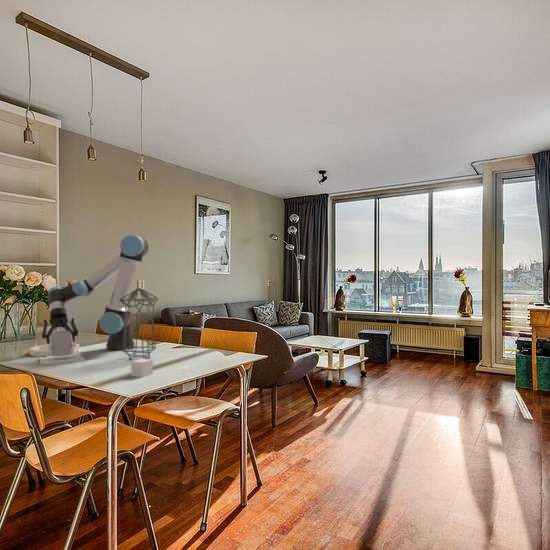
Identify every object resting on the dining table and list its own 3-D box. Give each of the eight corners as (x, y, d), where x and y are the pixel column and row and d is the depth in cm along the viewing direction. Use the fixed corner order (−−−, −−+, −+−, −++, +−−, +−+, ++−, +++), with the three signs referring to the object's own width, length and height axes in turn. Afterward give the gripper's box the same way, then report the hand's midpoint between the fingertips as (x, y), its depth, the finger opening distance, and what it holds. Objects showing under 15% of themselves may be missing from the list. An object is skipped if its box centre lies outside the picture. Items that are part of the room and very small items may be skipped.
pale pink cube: (131, 376, 166) (131, 361, 166) (141, 373, 172) (141, 358, 172) (142, 377, 164) (142, 362, 164) (152, 374, 169) (152, 359, 169)
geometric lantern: (117, 361, 195) (117, 288, 195) (131, 355, 210) (130, 287, 211) (149, 361, 194) (149, 288, 194) (161, 355, 209) (160, 287, 209)
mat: (78, 355, 212) (78, 353, 212) (84, 360, 197) (84, 358, 197) (38, 359, 202) (38, 357, 202) (41, 365, 187) (41, 363, 187)
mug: (74, 354, 199) (74, 331, 199) (56, 357, 193) (56, 333, 193) (62, 351, 207) (62, 329, 207) (45, 354, 200) (44, 331, 200)
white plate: (86, 348, 233) (86, 343, 233) (64, 356, 209) (64, 350, 209) (46, 348, 233) (46, 343, 233) (20, 356, 210) (20, 350, 210)
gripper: (79, 315, 219) (84, 349, 205) (33, 318, 207) (36, 354, 193) (81, 306, 214) (86, 340, 201) (34, 308, 202) (36, 344, 189)
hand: (61, 347), depth 197 cm, fingers closed on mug, 8 cm apart
